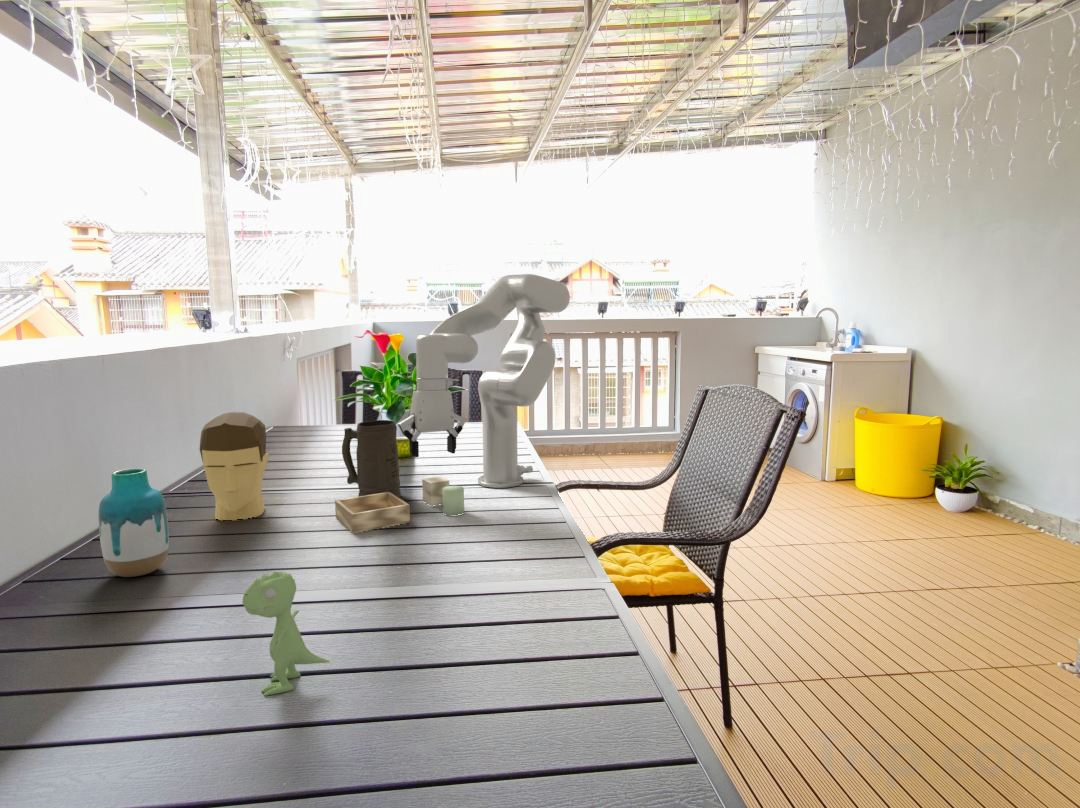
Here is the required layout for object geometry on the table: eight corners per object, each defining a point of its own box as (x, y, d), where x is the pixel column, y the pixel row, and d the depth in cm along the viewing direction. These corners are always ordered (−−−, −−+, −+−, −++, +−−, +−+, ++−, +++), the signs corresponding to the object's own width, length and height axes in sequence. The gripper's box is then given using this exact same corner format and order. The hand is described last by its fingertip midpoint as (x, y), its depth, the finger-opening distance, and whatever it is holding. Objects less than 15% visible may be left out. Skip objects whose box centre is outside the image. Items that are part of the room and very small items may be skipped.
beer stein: (409, 492, 174) (401, 417, 171) (396, 503, 163) (388, 424, 161) (353, 494, 176) (344, 421, 173) (337, 506, 165) (327, 428, 162)
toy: (247, 684, 85) (237, 573, 82) (305, 660, 90) (298, 555, 88) (270, 707, 80) (261, 590, 77) (330, 680, 85) (323, 570, 83)
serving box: (389, 509, 159) (389, 491, 159) (410, 523, 149) (409, 504, 148) (335, 518, 152) (334, 500, 152) (353, 533, 142) (352, 514, 141)
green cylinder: (458, 508, 159) (458, 484, 159) (467, 514, 155) (467, 489, 154) (439, 512, 157) (438, 487, 156) (448, 517, 153) (447, 492, 152)
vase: (185, 566, 124) (176, 467, 121) (134, 588, 114) (123, 481, 111) (142, 559, 127) (133, 463, 125) (89, 580, 117) (78, 476, 115)
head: (193, 530, 140) (188, 412, 140) (212, 516, 160) (208, 413, 160) (263, 523, 143) (258, 409, 144) (273, 511, 164) (269, 411, 164)
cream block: (441, 499, 168) (440, 476, 167) (449, 503, 164) (449, 480, 163) (422, 502, 165) (422, 479, 164) (431, 507, 161) (430, 483, 160)
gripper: (457, 382, 168) (458, 448, 170) (392, 385, 159) (394, 455, 161) (471, 385, 162) (471, 453, 164) (404, 388, 152) (405, 460, 154)
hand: (433, 454), depth 162 cm, fingers open, 9 cm apart
